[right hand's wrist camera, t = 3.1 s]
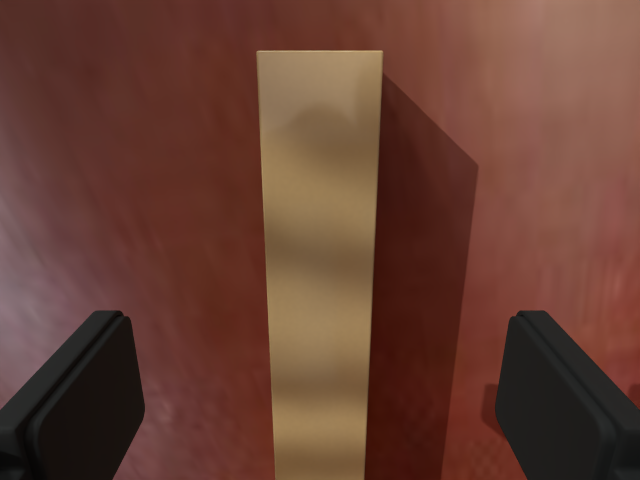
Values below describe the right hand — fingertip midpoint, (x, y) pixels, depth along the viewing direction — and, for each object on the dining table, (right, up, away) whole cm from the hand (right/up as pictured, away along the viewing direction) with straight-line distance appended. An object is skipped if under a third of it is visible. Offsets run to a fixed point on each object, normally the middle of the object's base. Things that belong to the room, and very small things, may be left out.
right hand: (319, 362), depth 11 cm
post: (0, -14, +22) cm, 26 cm away
